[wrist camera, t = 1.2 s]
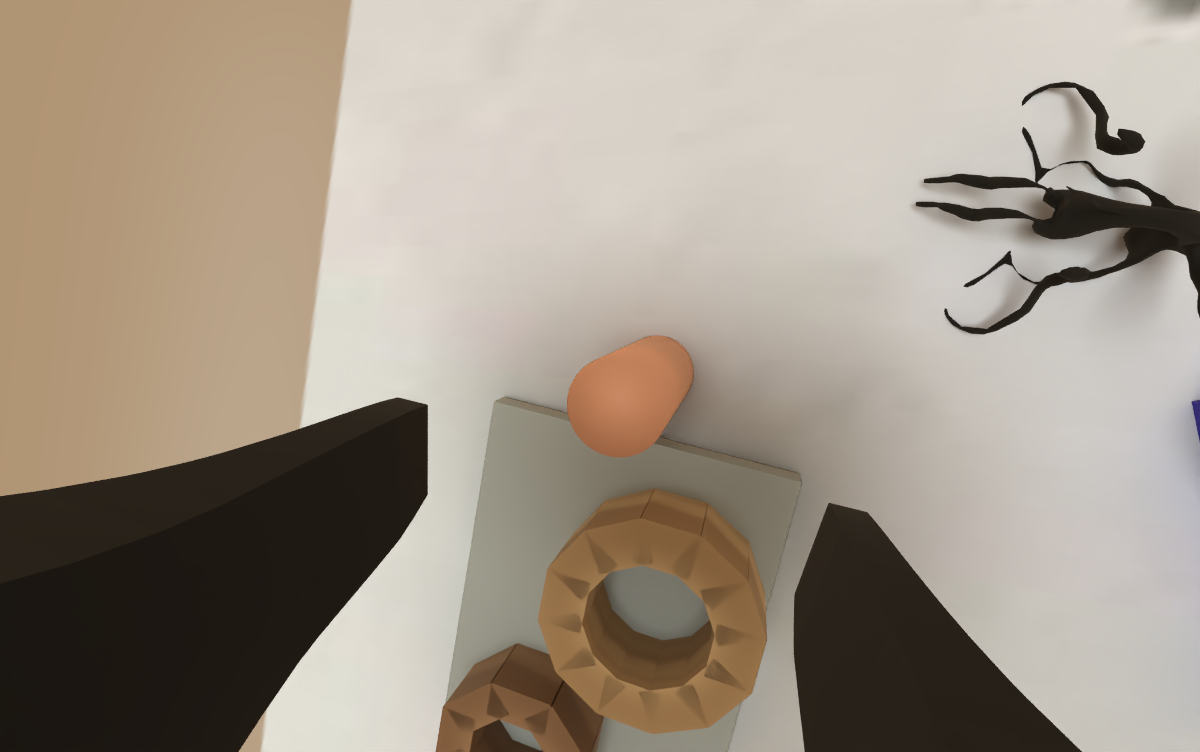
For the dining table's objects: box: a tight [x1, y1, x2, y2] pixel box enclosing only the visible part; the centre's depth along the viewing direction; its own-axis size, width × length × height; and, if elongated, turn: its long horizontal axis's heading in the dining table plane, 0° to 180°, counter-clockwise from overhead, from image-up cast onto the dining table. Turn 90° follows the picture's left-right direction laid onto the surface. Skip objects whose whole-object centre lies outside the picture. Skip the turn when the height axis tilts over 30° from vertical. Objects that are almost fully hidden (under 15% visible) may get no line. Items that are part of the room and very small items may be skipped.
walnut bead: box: [436, 643, 604, 752], centre depth 24 cm, size 6×6×3 cm
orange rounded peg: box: [567, 336, 694, 457], centre depth 19 cm, size 3×3×7 cm
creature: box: [915, 82, 1200, 334], centre depth 17 cm, size 8×5×8 cm
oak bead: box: [538, 488, 767, 734], centre depth 21 cm, size 8×8×3 cm
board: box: [446, 397, 802, 752], centre depth 24 cm, size 16×12×1 cm
